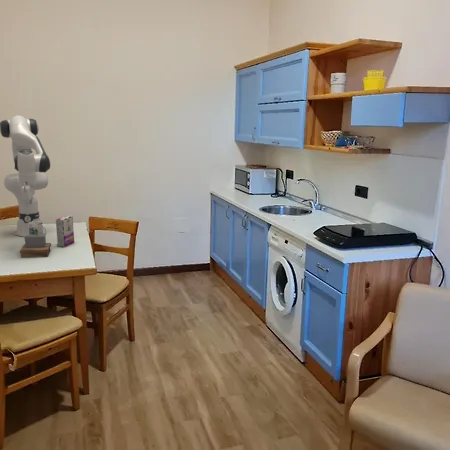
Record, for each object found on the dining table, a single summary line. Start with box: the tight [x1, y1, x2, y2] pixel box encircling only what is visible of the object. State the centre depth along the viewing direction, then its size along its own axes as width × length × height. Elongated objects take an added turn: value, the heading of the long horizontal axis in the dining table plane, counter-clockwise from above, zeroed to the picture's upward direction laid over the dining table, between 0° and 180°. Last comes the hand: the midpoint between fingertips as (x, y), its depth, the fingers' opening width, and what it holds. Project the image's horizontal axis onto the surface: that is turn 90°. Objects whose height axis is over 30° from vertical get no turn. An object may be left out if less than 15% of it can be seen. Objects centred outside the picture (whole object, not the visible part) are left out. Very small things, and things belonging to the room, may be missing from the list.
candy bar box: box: [55, 215, 75, 248], centre depth 277 cm, size 11×5×16 cm, turn 168°
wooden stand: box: [19, 242, 52, 259], centre depth 260 cm, size 14×14×4 cm
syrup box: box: [28, 221, 44, 235], centre depth 273 cm, size 6×6×14 cm
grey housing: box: [24, 234, 47, 248], centre depth 258 cm, size 10×4×6 cm, turn 103°
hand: (29, 205), depth 257 cm, fingers open, 8 cm apart
